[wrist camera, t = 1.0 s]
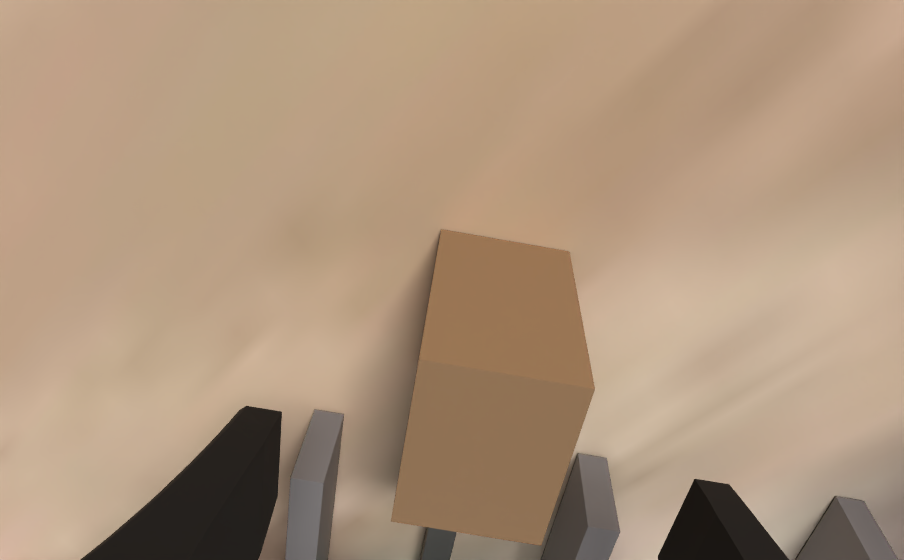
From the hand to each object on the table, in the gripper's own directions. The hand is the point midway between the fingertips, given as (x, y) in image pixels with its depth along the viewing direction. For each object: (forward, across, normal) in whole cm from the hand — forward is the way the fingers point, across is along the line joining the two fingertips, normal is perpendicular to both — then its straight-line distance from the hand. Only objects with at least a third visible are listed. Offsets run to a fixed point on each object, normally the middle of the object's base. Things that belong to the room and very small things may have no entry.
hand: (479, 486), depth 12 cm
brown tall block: (+6, 0, +6) cm, 9 cm away
